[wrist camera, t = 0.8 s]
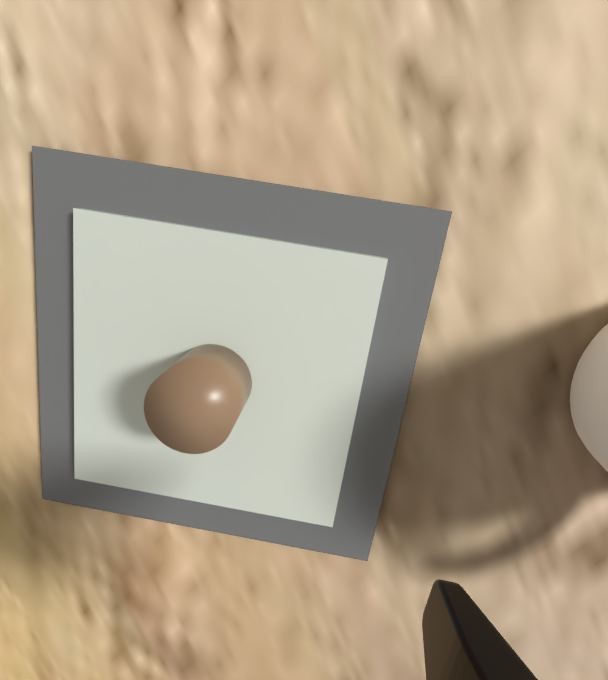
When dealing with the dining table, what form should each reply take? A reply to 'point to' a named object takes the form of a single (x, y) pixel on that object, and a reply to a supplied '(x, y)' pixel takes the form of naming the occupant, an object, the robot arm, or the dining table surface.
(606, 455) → the mug
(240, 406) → the panel
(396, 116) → the dining table surface
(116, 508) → the mat
